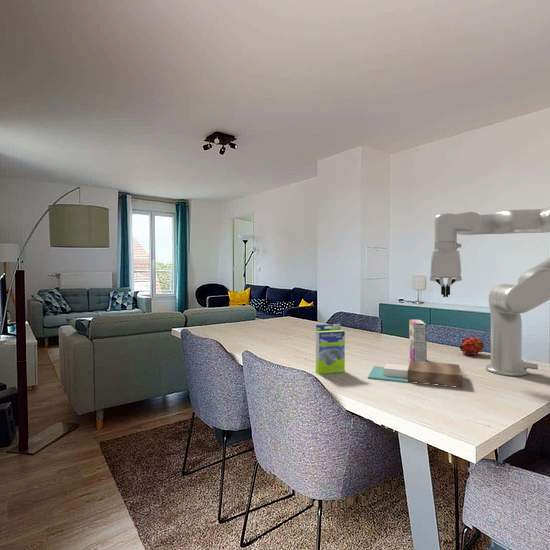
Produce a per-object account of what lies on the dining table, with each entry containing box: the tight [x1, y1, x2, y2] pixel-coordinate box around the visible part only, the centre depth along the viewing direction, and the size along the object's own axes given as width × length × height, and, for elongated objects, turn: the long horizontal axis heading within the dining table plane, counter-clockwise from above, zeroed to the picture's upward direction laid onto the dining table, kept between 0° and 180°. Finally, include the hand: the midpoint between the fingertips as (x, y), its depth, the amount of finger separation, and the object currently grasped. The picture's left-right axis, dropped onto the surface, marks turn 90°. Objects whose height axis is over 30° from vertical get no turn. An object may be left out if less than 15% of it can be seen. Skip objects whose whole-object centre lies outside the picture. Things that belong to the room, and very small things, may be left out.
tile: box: [383, 363, 409, 378], centre depth 129 cm, size 8×7×2 cm
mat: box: [367, 365, 409, 383], centre depth 130 cm, size 13×15×1 cm
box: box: [314, 323, 346, 375], centre depth 134 cm, size 10×4×17 cm, turn 106°
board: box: [408, 359, 463, 388], centre depth 124 cm, size 16×14×4 cm
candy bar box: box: [408, 319, 428, 362], centre depth 147 cm, size 11×5×16 cm, turn 168°
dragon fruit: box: [459, 335, 485, 357], centre depth 159 cm, size 8×8×12 cm
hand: (445, 296), depth 136 cm, fingers closed
